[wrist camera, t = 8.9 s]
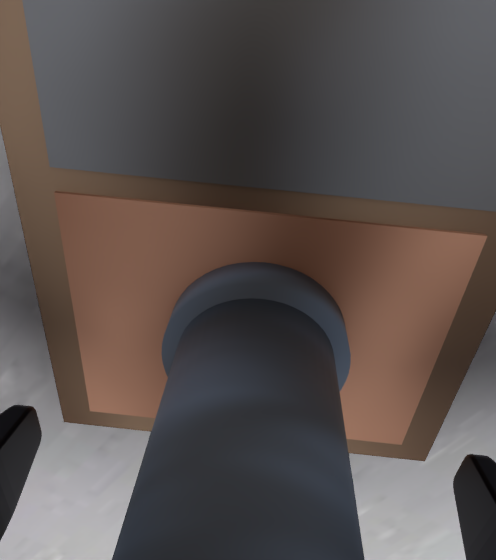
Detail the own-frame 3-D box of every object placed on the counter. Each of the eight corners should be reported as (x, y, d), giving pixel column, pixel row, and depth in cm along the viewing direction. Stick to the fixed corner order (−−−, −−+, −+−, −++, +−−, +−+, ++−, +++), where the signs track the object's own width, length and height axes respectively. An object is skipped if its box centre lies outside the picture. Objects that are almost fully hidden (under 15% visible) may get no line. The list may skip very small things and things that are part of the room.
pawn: (363, 272, 11) (560, 920, 3) (328, 407, 13) (390, 945, 6) (168, 252, 11) (-102, 839, 3) (170, 390, 13) (24, 902, 6)
